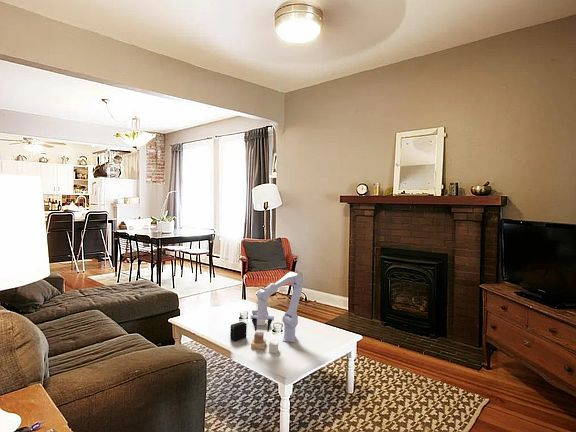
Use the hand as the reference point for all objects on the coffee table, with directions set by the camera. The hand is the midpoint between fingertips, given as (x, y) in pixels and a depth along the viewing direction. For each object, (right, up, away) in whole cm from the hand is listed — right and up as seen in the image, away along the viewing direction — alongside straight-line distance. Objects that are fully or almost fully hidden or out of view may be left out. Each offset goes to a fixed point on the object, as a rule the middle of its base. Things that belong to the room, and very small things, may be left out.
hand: (261, 330), depth 226 cm
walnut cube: (-2, -7, 0) cm, 7 cm away
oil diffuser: (-5, -8, +41) cm, 42 cm away
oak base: (-2, -10, +1) cm, 10 cm away
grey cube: (+7, -11, -5) cm, 14 cm away
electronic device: (-16, -9, +11) cm, 22 cm away
